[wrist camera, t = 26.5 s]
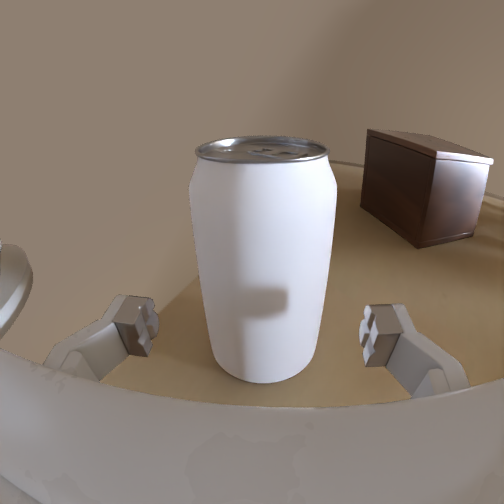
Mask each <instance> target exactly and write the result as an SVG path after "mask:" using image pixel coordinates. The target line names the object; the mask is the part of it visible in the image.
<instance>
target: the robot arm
mask: <svg viewBox="0 0 504 504" xmlns="http://www.w3.org/2000/svg"><path fill="white" fill-rule="evenodd" d="M1 245H2V241H1V239H0V270H1ZM154 307H155V305H154V302H153V299H151V298H147V297H138V296H127V295H117V296H116V297H115V298H114V300H113V301H112V303H111V304H110V306H109V307H108V309H107V310H106V312H105V314H104V315H103V317H102V318H101V320H96V321H94V322H93V323H91V324H89V325H88V326H86V327H84V328H82V329H81V330H79V331H78V332H76V333H74V334H72V335H71V336H69V337H68V338H66V339H64V340H63V341H61V342H59V343H57V344H56V345H55V346H54V347H53V349H52V350H51V352H50V353H49V355H48V357H47V358H46V360H45V361H44V363H43V365H41V364H38V363H35V362H33V361H30V360H28V359H25V358H22V357H20V356H17V355H15V354H13V353H10V352H8V351H6V350H3V349H1V348H0V504H504V378H501V379H498V380H495V381H491V382H488V383H484V384H480V385H477V386H473V387H471V386H470V384H469V381H468V379H467V376H466V374H465V371H464V369H463V367H462V364H461V363H460V362H458V361H457V360H456V359H455V358H453V357H452V356H451V355H449V354H448V353H447V352H445V351H444V350H443V349H442V348H440V347H439V346H438V345H436V344H435V343H434V342H432V341H431V340H430V339H428V338H427V337H426V336H424V335H423V334H422V333H420V332H416V330H415V327H414V325H413V323H412V321H411V318H410V316H409V314H408V312H407V309H406V307H405V305H404V304H403V303H397V304H378V305H366V307H365V309H364V317H365V318H364V319H363V320H362V321H361V323H360V327H359V341H360V345H361V346H362V347H363V348H364V351H363V358H364V363H365V367H381V366H386V368H387V369H388V370H389V371H390V373H391V374H392V375H393V376H394V377H395V378H396V379H397V380H398V381H399V383H400V384H401V385H402V386H403V387H404V388H405V389H406V390H407V392H408V393H409V394H410V395H411V396H412V397H411V398H410V399H408V400H402V401H394V402H386V403H377V404H367V405H355V406H340V407H313V408H280V407H254V406H238V405H226V404H215V403H206V402H198V401H190V400H183V399H176V398H170V397H164V396H158V395H153V394H148V393H143V392H138V391H133V390H128V389H124V388H119V387H115V386H111V385H107V384H103V383H100V382H99V381H100V380H101V379H103V378H104V377H105V376H106V375H107V374H108V373H109V372H111V371H112V370H113V369H114V368H115V367H116V366H118V365H119V364H120V363H121V362H122V361H123V360H125V359H126V358H127V357H128V356H129V355H135V356H142V357H148V355H149V353H150V350H151V348H152V346H153V344H152V342H151V340H152V339H154V338H155V337H156V336H157V334H158V330H159V318H158V314H157V313H156V312H155V311H154V310H153V309H154Z"/></svg>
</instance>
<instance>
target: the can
mask: <svg viewBox="0 0 504 504" xmlns="http://www.w3.org/2000/svg"><path fill="white" fill-rule="evenodd" d="M329 152H330V149H329V147H328V146H327V145H325V144H322V143H320V142H317V141H313V140H308V139H303V138H295V137H286V136H244V137H234V138H226V139H220V140H215V141H211V142H208V143H205V144H202V145H200V146H198V147H197V148H196V149H195V154H196V155H197V164H196V167H195V169H194V172H193V174H192V177H191V180H190V184H189V200H190V210H191V219H192V227H193V236H194V243H195V250H196V258H197V264H198V272H199V279H200V285H201V292H202V298H203V304H204V310H205V316H206V321H207V327H208V332H209V337H210V342H211V347H212V351H213V354H214V357H215V359H216V361H217V362H218V364H219V365H220V366H221V367H222V368H223V369H224V370H225V371H226V372H228V373H229V374H231V375H232V376H234V377H236V378H239V379H241V380H244V381H248V382H253V383H273V382H279V381H282V380H285V379H288V378H290V377H292V376H294V375H296V374H298V373H299V372H300V371H302V370H303V369H304V368H305V367H306V366H307V365H308V364H309V362H310V361H311V359H312V357H313V354H314V351H315V347H316V343H317V338H318V333H319V328H320V322H321V317H322V311H323V305H324V299H325V292H326V286H327V279H328V272H329V265H330V257H331V249H332V241H333V232H334V222H335V212H336V199H337V184H336V180H335V177H334V175H333V172H332V170H331V167H330V165H329V162H328V156H327V155H328V154H329Z"/></svg>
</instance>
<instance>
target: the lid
mask: <svg viewBox="0 0 504 504" xmlns="http://www.w3.org/2000/svg"><path fill="white" fill-rule="evenodd" d="M367 135H370V136H373V137H376V138H380V139H383V140H386V141H389V142H392V143H395V144H398V145H401V146H404V147H406V148H409V149H412V150H415V151H417V152H420V153H423V154H425V155H428V156H430V157H433V158H435V159H446V160H456V161H466V162H474V163H482V164H490V165H492V164H493V158H490V157H488V156H485V155H483V154H481V153H478V152H475V151H473V150H470V149H467V148H465V147H462V146H460V145H457V144H454V143H451V142H448V141H445V140H442V139H439V138H436V137H433V136H430V135H423V134H416V133H408V132H399V131H390V130H379V129H367Z"/></svg>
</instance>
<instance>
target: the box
mask: <svg viewBox="0 0 504 504" xmlns="http://www.w3.org/2000/svg"><path fill="white" fill-rule="evenodd" d="M488 170H489V164H482V163H474V162H466V161H456V160H446V159H435V158H433V157H430V156H428V155H425V154H423V153H420V152H417V151H415V150H412V149H409V148H406V147H404V146H401V145H398V144H395V143H392V142H389V141H386V140H383V139H380V138H376V137H373V136H370V135H367V139H366V152H365V164H364V174H363V184H362V193H361V202H360V206H361V207H362V208H363V209H365V210H366V211H368V212H369V213H371V214H372V215H373V216H375V217H376V218H378V219H379V220H380V221H382V222H383V223H384V224H386V225H387V226H389V227H390V228H391V229H393V230H394V231H395V232H397V233H398V234H399V235H401V236H402V237H403V238H404V239H406V240H407V241H408V242H410V243H411V244H412V245H414V246H415V247H416V248H417V249H419V248H424V247H428V246H433V245H437V244H441V243H446V242H450V241H454V240H459V239H463V238H467V237H471V236H473V234H474V230H475V227H476V223H477V219H478V216H479V212H480V208H481V204H482V199H483V195H484V191H485V186H486V181H487V176H488Z"/></svg>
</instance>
